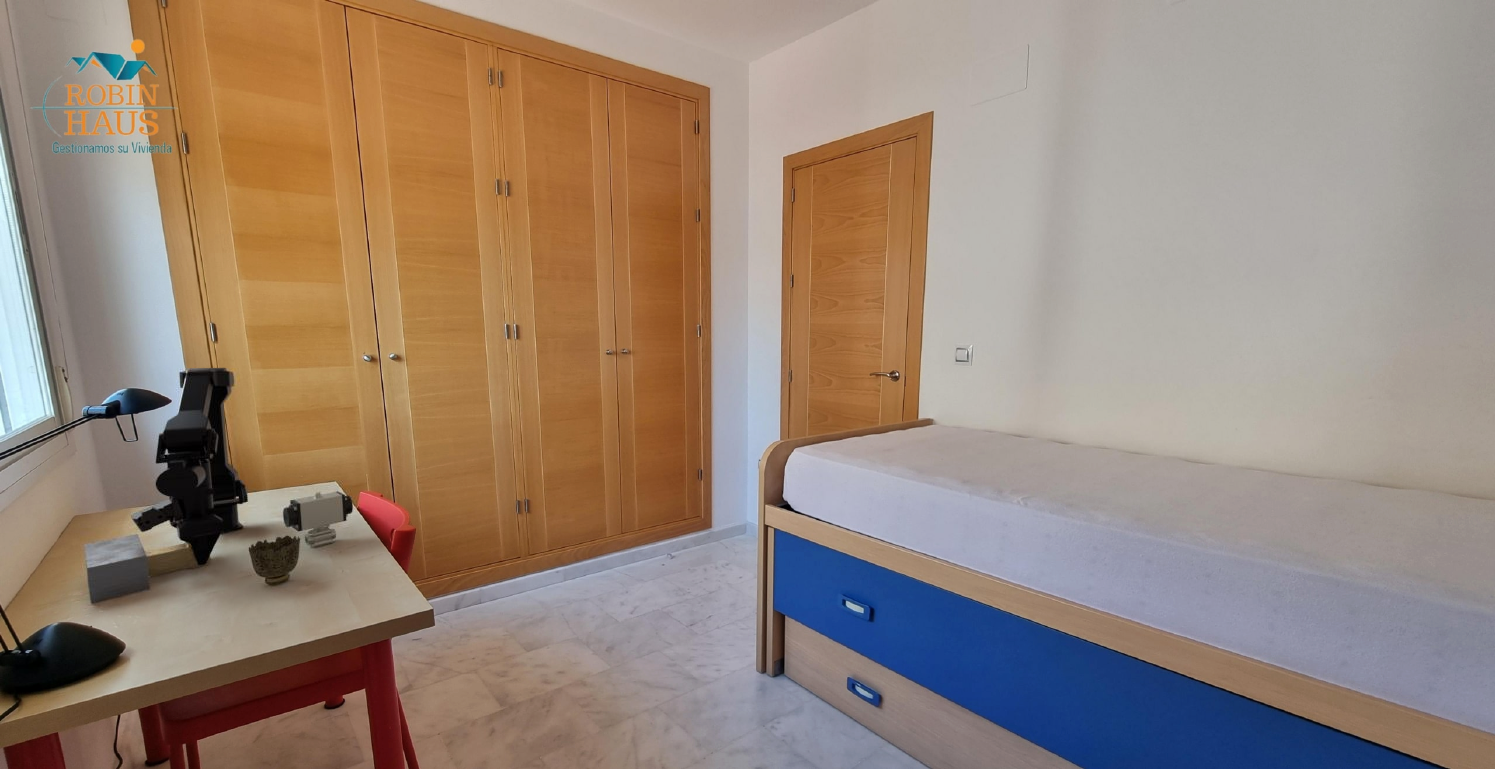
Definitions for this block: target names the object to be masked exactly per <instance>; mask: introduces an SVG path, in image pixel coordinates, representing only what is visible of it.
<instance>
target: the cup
mask: <svg viewBox="0 0 1495 769" xmlns="http://www.w3.org/2000/svg"><path fill="white" fill-rule="evenodd" d="M300 546H301V538H300V536H298V537H297V536H296V535H294V536H293V537H292V536H290V535H288V534H287V535H285V536H283V537H281V536H277V537H276V538H275V540H274V541H269V542H268V540H267V539H264V540H263V541H261V540H257V541H256V543H255V544H253V543H251V545H250V546H248V552H249V556H250V561H251V564H252V568H253V571H254V572H255V574H257V576H259V577H260V578H263V579H264V583H265V584H266V585H268V586H278V585H281V584H284V583H287V581H289V579H290V578H291V575H290V573H291V572H292V571H293V570H295V569H296V566H297V565H298V564H299V563H298V562H299V557H300V556H299V555H300V548H301V547H300Z"/></svg>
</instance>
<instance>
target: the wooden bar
mask: <svg viewBox="0 0 1495 769" xmlns="http://www.w3.org/2000/svg"><path fill="white" fill-rule="evenodd" d="M145 553H146V555H147V565H148V576H149V577H153V576H156V575H157V576H158V575H161V574H166V573H170V572H173V571H179V570H182V569H188V568H189V569H194V568H199V567H204V566H207V565H211V563H212V560H211V555H210V556H209V559H208V561H207V563H206V564H205V565H200V566H199V565H198V564H197V561H196V558H195V556H194V553H193V550H192V547H191V545H190V543H187V542H185V541H184V543H181V544H176V545H175V544H174V545H170V546H166V547H161V548H156V549H151V550H146V551H145Z"/></svg>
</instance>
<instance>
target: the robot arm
mask: <svg viewBox="0 0 1495 769" xmlns="http://www.w3.org/2000/svg"><path fill="white" fill-rule="evenodd" d="M178 374H179V386H180V387H179V388H180V389H182V390H181V395H180V400H179V404H178V409H177V412H176V415H174V416H173V417H171V418H170V419H168V420H166V422H165V425H164V428H163V430H162V431H161V432H159V434H158V438H157V439H158V441H157V449H156V456H155V464H157V465H158V464H167V468H166V469H165V470H164V471H163V472H161V473H160V474H159V475H158V477H157V478H156V481H155V488H156V490H157V491H158V492H159V493H160V494H161V495H163V496H165V497H168V499H167V500H164V501H161V502H158V503H156V504H153V505H151V506H148V507H145V508H144V509H141V510H139V511H136V512H134V513H132V514H130V518H131V520H132V521H133V523H134V524H135V525H136V526H137V528H138V530H139V531H140V532H142V533H145V532H147V531H151V530H152V529H153V528H154V527H156V526H159V525H161V524H164V523H167V522H169V525H170V526H171V527H173V528H175V529H176V531H177V537H178V538H179V540H180V541H181V542H184V543H185V542H187V543H190V545H191V547H192V550H193V553H194V556H195V558H196V561H197V564H198V565H199V567H201V566H200V565H203V566H206V565H205V564H206V563H207V561H208V559H209V556H210V557H211V554H212V552H213V550H214V548H215V546H216V544H217V542H218V540H219V538H220V536H221V535H222V534H223V533H227V532H232V531H237V530H241V529H244V525H243V524H242V523H241V522H240V520H239V510H238V505H243V504H244V503H247V502H249V498H248V496H249V495H248V490H247V487H246V484H244V483H243V480H242V479H239V478H240V477H239V472H238V471H237V469H235V468H234V467H233V465H231V464H230V463H229V455H228V453H229V452H228V443H227V430H226V421H225V420H226V418H225V416H226V415H225V408H224V407H225V406H224V404H225V402H226V401H227V400H228V398H229V397H230V395H231V394H232V387H234V386H235V377H234V376H235V375H234V372H233V371H230V370H227V368H226V367H197V368H196V367H194V368H191V367H190V368H189V369H187V370H183V371H179V373H178ZM166 452H167V454H166Z"/></svg>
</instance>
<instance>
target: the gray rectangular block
mask: <svg viewBox="0 0 1495 769" xmlns="http://www.w3.org/2000/svg"><path fill="white" fill-rule="evenodd" d="M83 548H84V550H83V551H84V557H85V558H84V559H85V566H86V568H85V569H86V576H87V583H88V584H87V585H89V586H88V591H89V592H88V593H89V599H90V600H89V601H90V604H91V605H92V604H96V603H99V602H103V601H104V602H105V601H108V600H112V599H115V598H116V599H117V598H121V597H124V596H128V595H131V594H136V593H141V592H145V591H149V590H151V589H150V588H151V587H150V578H149V577H150V576H148V565H147V555H146V553H145V552H146V551H145V548H144V546H143V543H142V541H141V539H140V537H139V535H138V534H137V533H136V534H131V535H130V534H129V535H127V536H126V535H125V536H120V537H115V538H111V539H105V540H104V539H103V540H99V541H95V542H90V543H89V542H88V543H84V544H83Z"/></svg>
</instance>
